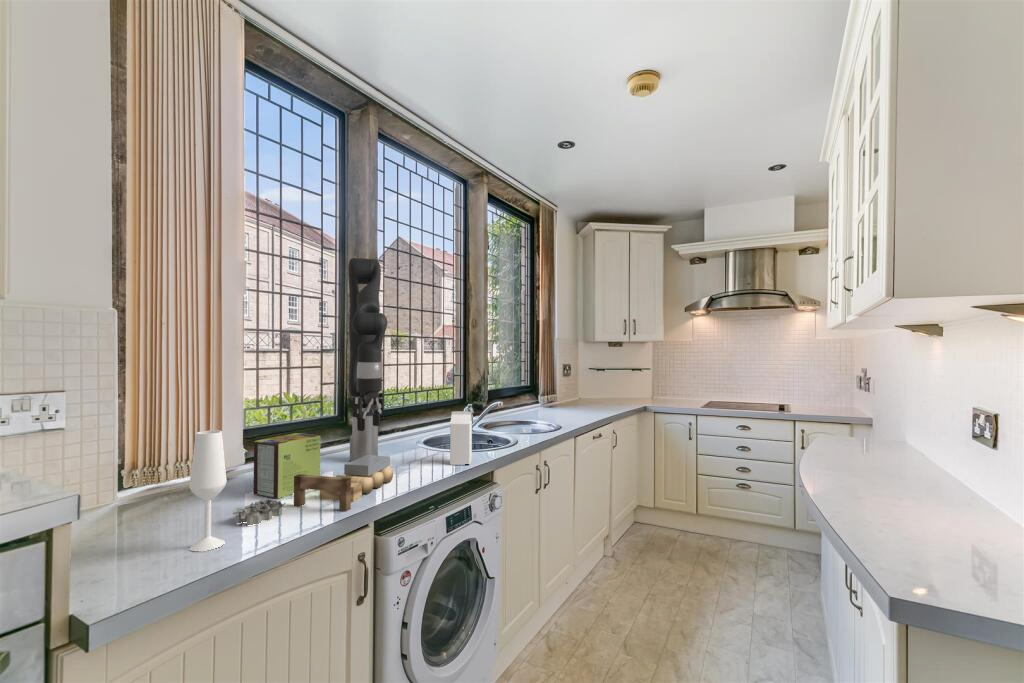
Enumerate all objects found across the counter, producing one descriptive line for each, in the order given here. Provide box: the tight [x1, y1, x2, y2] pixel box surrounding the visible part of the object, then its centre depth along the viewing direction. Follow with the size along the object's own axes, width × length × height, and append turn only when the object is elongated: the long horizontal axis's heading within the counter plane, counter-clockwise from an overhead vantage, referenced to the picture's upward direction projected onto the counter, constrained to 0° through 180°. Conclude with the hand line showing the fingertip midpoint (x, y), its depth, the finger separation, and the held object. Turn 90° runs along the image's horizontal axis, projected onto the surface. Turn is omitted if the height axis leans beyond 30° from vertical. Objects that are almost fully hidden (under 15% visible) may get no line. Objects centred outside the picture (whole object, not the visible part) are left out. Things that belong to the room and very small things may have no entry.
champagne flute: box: [188, 429, 227, 552], centre depth 102 cm, size 7×7×24 cm
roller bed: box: [335, 467, 394, 494], centre depth 146 cm, size 11×16×4 cm, turn 166°
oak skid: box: [319, 483, 363, 503], centre depth 135 cm, size 11×4×4 cm, turn 75°
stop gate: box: [293, 474, 352, 512], centre depth 127 cm, size 16×2×8 cm, turn 76°
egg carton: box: [231, 497, 287, 526], centre depth 119 cm, size 11×8×4 cm
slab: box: [343, 455, 391, 476], centre depth 148 cm, size 8×13×3 cm, turn 166°
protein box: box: [252, 432, 321, 500], centre depth 143 cm, size 10×15×16 cm
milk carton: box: [449, 410, 473, 466], centre depth 177 cm, size 7×7×19 cm
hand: (368, 428), depth 150 cm, fingers open, 8 cm apart
